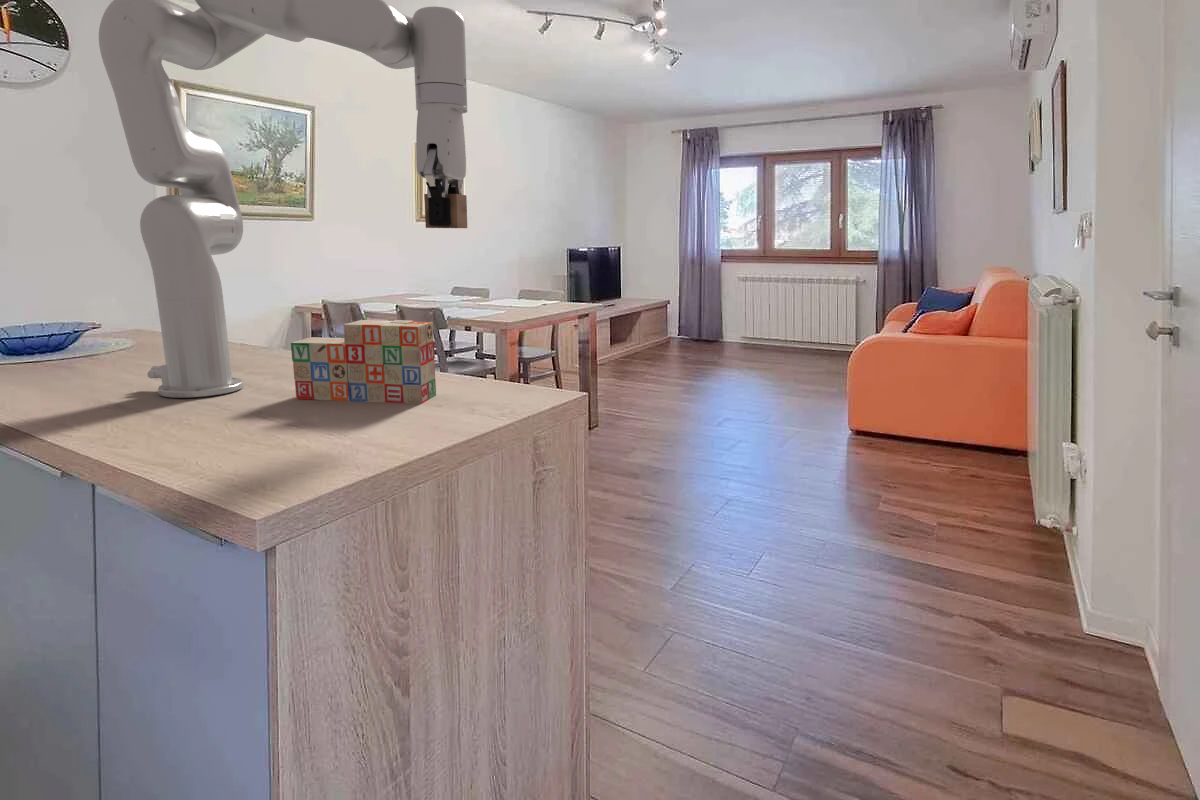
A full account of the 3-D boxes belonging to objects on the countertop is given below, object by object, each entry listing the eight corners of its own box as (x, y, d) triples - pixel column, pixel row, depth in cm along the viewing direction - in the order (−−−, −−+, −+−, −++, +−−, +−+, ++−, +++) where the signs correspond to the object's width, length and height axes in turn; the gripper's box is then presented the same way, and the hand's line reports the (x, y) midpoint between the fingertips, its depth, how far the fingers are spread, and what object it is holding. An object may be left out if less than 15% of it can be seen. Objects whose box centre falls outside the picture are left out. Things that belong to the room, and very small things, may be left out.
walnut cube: (425, 227, 114) (424, 193, 113) (436, 228, 118) (435, 195, 117) (457, 228, 113) (456, 193, 112) (467, 228, 118) (466, 195, 117)
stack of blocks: (294, 400, 119) (287, 322, 116) (315, 392, 125) (309, 318, 122) (422, 404, 116) (418, 325, 113) (437, 396, 122) (433, 320, 119)
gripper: (436, 110, 120) (441, 226, 124) (395, 90, 104) (402, 225, 108) (481, 109, 119) (485, 226, 123) (447, 89, 103) (452, 225, 107)
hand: (446, 224), depth 116 cm, fingers closed on walnut cube, 5 cm apart
